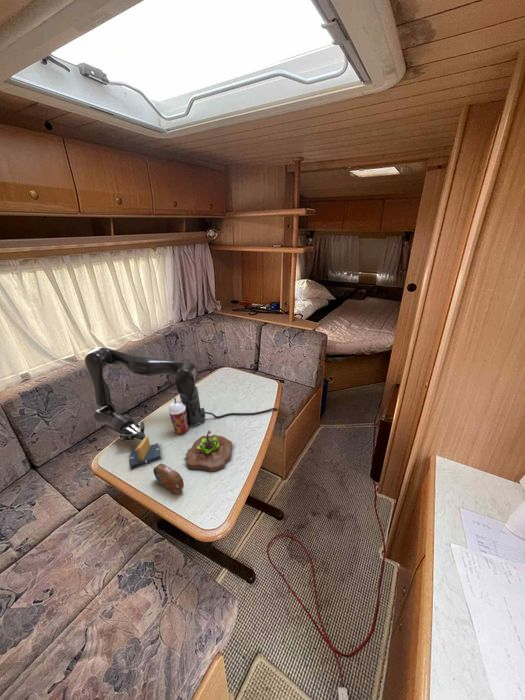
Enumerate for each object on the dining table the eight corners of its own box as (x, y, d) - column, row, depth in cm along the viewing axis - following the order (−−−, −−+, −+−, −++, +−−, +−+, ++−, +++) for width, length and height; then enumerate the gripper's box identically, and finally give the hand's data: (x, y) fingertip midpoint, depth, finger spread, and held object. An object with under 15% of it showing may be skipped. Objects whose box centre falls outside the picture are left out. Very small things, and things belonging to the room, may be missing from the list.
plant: (237, 441, 131) (236, 422, 126) (224, 474, 113) (221, 453, 109) (198, 436, 135) (196, 417, 130) (180, 467, 117) (176, 447, 113)
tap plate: (158, 444, 131) (157, 440, 130) (161, 461, 121) (160, 457, 120) (130, 452, 126) (129, 449, 125) (132, 471, 116) (130, 468, 115)
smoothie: (193, 426, 141) (187, 394, 133) (184, 437, 134) (176, 404, 126) (179, 423, 144) (172, 392, 136) (169, 434, 137) (161, 401, 129)
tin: (154, 480, 112) (150, 464, 108) (161, 474, 114) (157, 459, 111) (180, 496, 104) (177, 480, 101) (186, 490, 107) (183, 474, 103)
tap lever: (147, 447, 126) (144, 436, 124) (150, 447, 126) (148, 436, 124) (139, 460, 119) (136, 449, 116) (142, 460, 119) (139, 449, 116)
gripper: (107, 426, 127) (128, 439, 118) (133, 411, 137) (154, 423, 128) (111, 438, 130) (132, 453, 121) (136, 423, 140) (157, 435, 131)
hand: (143, 437), depth 125 cm, fingers closed
